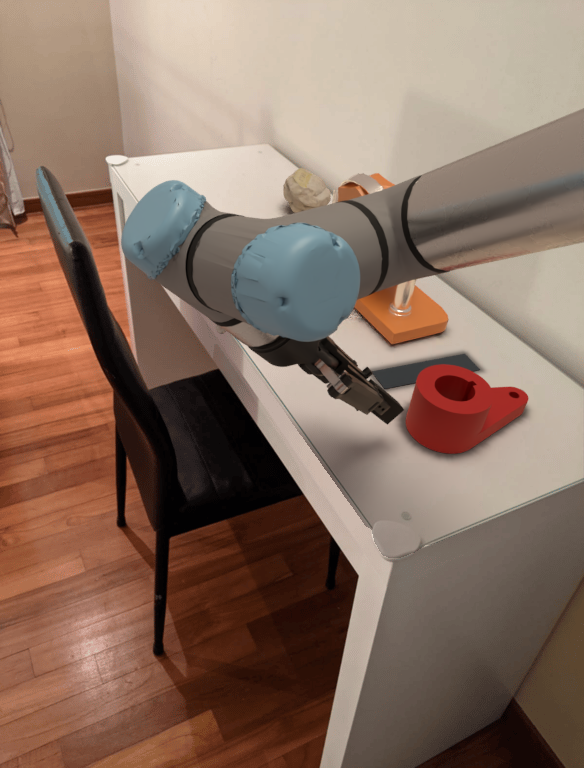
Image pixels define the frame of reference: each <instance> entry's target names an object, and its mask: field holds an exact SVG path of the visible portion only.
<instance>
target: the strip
mask: <svg viewBox="0 0 584 768" xmlns="http://www.w3.org/2000/svg"><path fill="white" fill-rule="evenodd" d="M441 364H446V365H455V366H459V367H462V368H465V369H468V370H470V371H472V372H477V371H480V370H481V369H480V368H479V366H477V364H476V363H475V362H474V361H473V360H472V359H471V358H470V356H469V357H468V355H467V354H466V353H460V354H455V355H449V356H445V357H440V358H434V359H429V360H423V361H419V362H413V363H408V364H402V365H397V366H392V367H387V368H382V369H376V370H371V371H372V372H373V374H372V375H373V376H374V377H375V378H376V380H377V382H378V383H379V384H380V386H382V389H384V390H389V389H393V388H398V387H402V386H403V387H404V386H408V385H413V384H416V380H417V377H418V375H419V373H420V372H421V371H422V370H424V369H425V368H427V367H430V366H433V365H441Z"/></svg>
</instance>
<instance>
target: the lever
mask: <svg viewBox="0 0 584 768" xmlns="http://www.w3.org/2000/svg"><path fill="white" fill-rule="evenodd" d="M528 402H529V395H528V394H527V393H526V392H525V391H524V390H523V389H521V388H518V387H516V386H497V387H496V386H494V387H491V385H490V384H489V382H487V380H485V378H484V377H482V376H481V375H479V374H478V373H476V372H475V371H470V370H468V369H465V368H462V367H459V366H455V365H446V364H441V365H433V366H430V367H427V368H425V369H424V370H422V371H421V372H420V373H419V375H418V377H417V380H416V383H414V388H413V391H412V394H411V398H410V402H409V405H408V409H407V413H406V416H405V426H406V427H405V428H406V430H407V431H408V433H409V435H410V436H411V437H412V438H413V440H415V441H416V442H417V443H419V445H422V446H423V447H425V448H426V449H429V450H431V451H434V452H437V453H442V454H450V455H452V454H461V453H465V452H468V451H470V450H471V449H473V448H474V447H476V446H477V445H479V444H480V443H481V442H483V441H485V440H486V439H487V438H489V437H490V436H492V435H493V434H495V433H496V432H498V431H500V430H501V429H503V428H504V427H506V426H507V425H508V424H510V423H512V422H513V421H514V420H516V419H517V418H519V417H520V416H522V415H523V413H524V411H525V409H526V406H527V404H528Z"/></svg>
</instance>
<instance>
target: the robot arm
mask: <svg viewBox="0 0 584 768" xmlns="http://www.w3.org/2000/svg"><path fill="white" fill-rule="evenodd" d="M583 243H584V107H583V108H580V109H578V110H576V111H573V112H570V113H568V114H566V115H564V116H561V117H558V118H556V119H554V120H552V121H549V122H547V123H544V124H541V125H540V126H537V127H534V128H532V129H529V130H527V131H524V132H522V133H519V134H518V135H517V134H516V136H512V137H510V138H508V139H504V140H503V141H500V142H497V143H495V144H493V145H491V146H488V147H485V148H483V149H481V150H479V151H476V152H473V153H471V154H468V155H466V156H463V157H462V158H459V159H456V160H454V161H452V162H449V163H446V164H444V165H441V166H440V167H437V168H434V169H432V170H430V171H427V172H425V173H423V174H420V175H417V176H413V177H411V178H409V179H406V180H404V181H402V182H399V183H397V184H395V185H394V186H392V187H389V188H387V189H384V190H381V191H378V192H374V193H371V194H367V195H364V196H361V197H357V198H354V199H350V200H345V201H340V202H336V203H333V204H332V203H328V205H325V206H321V207H317V208H313V209H309V210H305V211H301V212H297V213H294V212H293V213H290V214H286V215H282V216H278V217H277V216H276V217H272V218H260V217H252V216H251V217H250V216H245V215H240V214H237V213H233V212H232V213H230V212H225V211H220V210H218V209H217V208H215V207H213V206H212V205H211V204H210V203H209V202H208V201H207V198H206V196H205V195H204V194H200V193H199V192H198V191H196V190H194V189H193V188H192V187H190V185H188V184H186V183H185V182H183V181H181V180H178V179H176V180H175V179H171V180H170V179H169V180H166V181H162V182H161V183H159V184H157V185H155V186H154V187H152V188H151V189H150V190H149V191H147V192H146V193H145V194H144V195H143V197H141V198H140V200H139V201H138V202H137V203H136V205H135V206H134V207H133V209H132V211H131V212H130V214H129V215H128V217H127V219H126V221H125V224H124V226H123V227H122V232H121V238H120V245H121V251H122V253H123V255H124V257H125V258H126V259H127V260H128V261H129V262H130V263H131V264H132V265H134V266H135V267H136V268H137V269H139V270H140V271H141V272H143V273H144V275H146V278H147V279H149V280H150V281H154V282H156V283H157V284H159V285H160V286H162V287H163V288H165V289H166V290H167V291H169V293H172V294H173V295H174V296H176V297H178V298H179V299H180V300H182V301H183V302H185V303H186V304H188V305H189V306H190V307H192V308H193V309H195V310H196V311H198V312H199V313H200V314H202V315H203V316H205V317H206V318H208V320H210V321H211V322H212V323H214V324H215V330H216V331H217V333H218V334H220V335H224V334H225V333H226V332H227V333H229V334H230V335H231V336H232V337H233V338H235V339H236V340H238V341H239V342H240V343H242V344H243V345H245V346H246V347H248V349H249V350H250V351H252V352H253V353H255V354H256V355H257V356H259V357H260V358H262V359H263V360H264V361H266V362H267V363H269V364H270V365H272V366H275V367H277V368H278V367H279V368H285V367H286V368H288V367H291V366H296V365H297V366H298V367H299V368H300V369H301V370H302V371H303V372H304V373H306V374H307V375H309V376H310V375H313V376H314V377H315V378H316V379H318V380H319V381H320V382H322V384H325V385H326V388H327V389H326V390H327V393H328V396H329V397H330V398H332V399H334V400H340V401H341V402H344V403H345V404H348V405H349V406H350V407H352V408H354V410H356V412H361V413H362V414H364V415H366V416H367V415H369V414H370V413H371V414H373V415H374V416H375V417H377V418H378V419H379V420H380V421H382V422H383V423H384V424H386V425H387V426H388V425H389V424H391V422H393V421H394V420H395V419H396V418H397V417H398V416H400V415H401V414H402V413H403V412H404V411H405V408H404V407H403V406H402V405H401V404H400V402H399V400H397V399H395V398H394V397H393V396H392V395H391V394H390V393H388V391H386V389H384V388H383V387H381V385H379V384H378V383H377V382H376V381H374V380H373V379H372V378H370V377H371V376H372V375H373V372H372V371H373V370H371V368H369V367H368V366H366V367H365V368H364V369H361V368H360V367H359V365H358V362H357V361H356V360H355V359H353V358H352V357H351V356H350V355H349V354H347V353H346V351H344V350H343V349H342V348H341V347H340V346H339V345H338V344H337V343H336V342H335V340H334V339H333V338H331V335H333V334H334V333H335V332H336V331H338V329H339V326H340V325H341V324H342V323H343V322H344V321H345V320H347V319H349V317H350V316H351V314H352V313H353V310H354V309H355V307H354V306H355V304H356V301H357V300H358V299H361V298H363V297H366V296H369V295H371V294H373V293H375V292H378V291H381V290H384V289H386V288H389V287H392V286H395V285H398V284H401V283H404V282H407V281H411V280H415V279H416V280H419V279H424V278H428V277H429V278H430V277H432V276H433V277H434V276H437V275H441V274H447V273H450V272H453V271H456V270H461V269H465V268H471V267H474V266H475V267H476V266H480V265H485V264H489V263H494V262H498V261H503V260H508V259H513V258H516V257H517V258H518V257H521V256H526V255H527V256H528V255H530V254H536V253H542V252H545V251H550V250H555V249H559V248H565V247H569V246H573V245H574V246H575V245H578V244H583ZM369 378H370V379H369Z"/></svg>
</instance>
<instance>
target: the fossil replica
mask: <svg viewBox="0 0 584 768" xmlns="http://www.w3.org/2000/svg"><path fill="white" fill-rule="evenodd" d="M282 186H283V188H282V189H283V190H282V192H283V197H284V200H286V202H288V203H289V205H288V206H289V207H290V209H291V211H292V212H293V213H297V212H301V211H305V210H309V209H313V208H317V207H321V206H325V205H329V204H330V202H331V200H332V199H331V198H332V197H331V190H330V189H329V188H328V187H327V185H326V182H325V181H324V179H322V178H321V177H320V176H319V175H317V174H315V173H314V172H313V173H312V172H311V171H310V170H308V169H307V168H303V167H299V168H298V169H296V170H294V172H293V173H292V174H291V175H288V176H287V178H286V179H285V181H284V183H283V185H282Z"/></svg>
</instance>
